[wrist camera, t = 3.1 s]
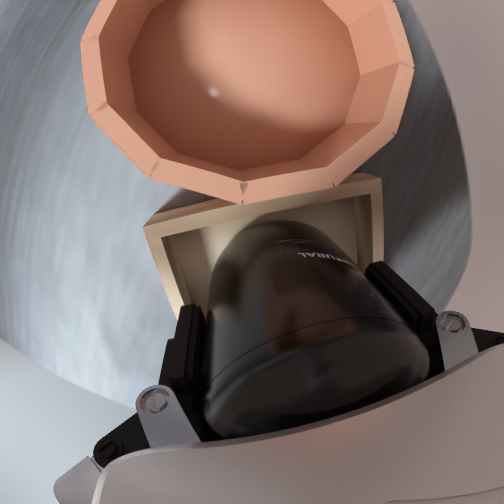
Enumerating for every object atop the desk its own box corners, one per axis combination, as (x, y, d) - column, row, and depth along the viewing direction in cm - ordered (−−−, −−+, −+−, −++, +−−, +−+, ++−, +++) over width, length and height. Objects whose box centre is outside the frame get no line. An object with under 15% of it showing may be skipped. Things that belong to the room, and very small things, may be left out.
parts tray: (154, 213, 12) (142, 226, 10) (360, 171, 12) (381, 178, 10) (226, 401, 18) (227, 423, 16) (359, 369, 18) (369, 388, 16)
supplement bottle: (333, 201, 13) (559, 389, 2) (343, 314, 15) (444, 497, 4) (190, 236, 13) (127, 547, 2) (228, 345, 15) (247, 559, 4)
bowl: (112, 3, 8) (80, -31, 4) (331, -29, 8) (361, -64, 4) (150, 206, 12) (121, 235, 8) (378, 161, 12) (429, 173, 8)
